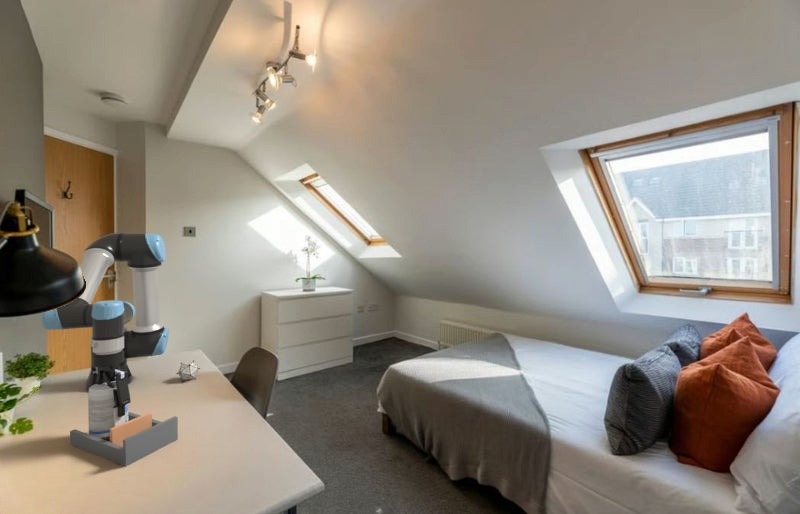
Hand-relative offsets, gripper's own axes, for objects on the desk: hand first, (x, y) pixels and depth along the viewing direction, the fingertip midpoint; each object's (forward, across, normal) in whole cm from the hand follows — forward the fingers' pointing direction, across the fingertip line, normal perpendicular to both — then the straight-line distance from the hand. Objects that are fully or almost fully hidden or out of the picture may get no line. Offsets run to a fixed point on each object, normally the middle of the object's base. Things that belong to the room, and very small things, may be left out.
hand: (109, 422), depth 108 cm
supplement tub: (+3, 0, 0) cm, 3 cm away
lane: (+4, +7, 0) cm, 8 cm away
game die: (+5, -20, +41) cm, 46 cm away
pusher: (+4, +12, 0) cm, 13 cm away
